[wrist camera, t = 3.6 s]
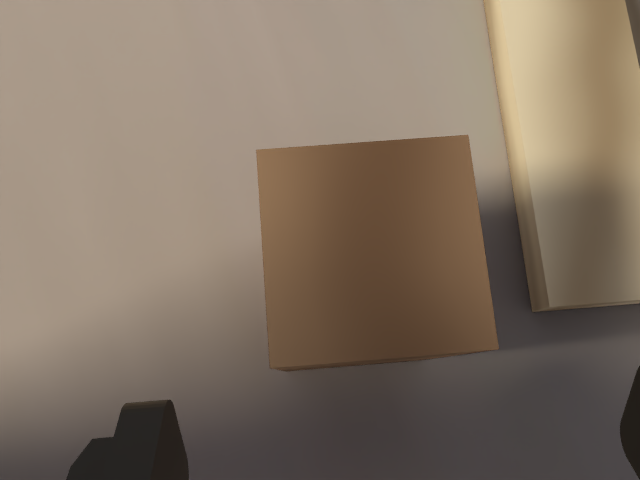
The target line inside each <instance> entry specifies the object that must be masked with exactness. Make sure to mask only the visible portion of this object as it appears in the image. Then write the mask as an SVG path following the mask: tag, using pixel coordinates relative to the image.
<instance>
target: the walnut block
mask: <svg viewBox="0 0 640 480" xmlns="http://www.w3.org/2000/svg"><path fill="white" fill-rule="evenodd" d="M256 153H257V169H258V185H259V201H260V218H261V234H262V250H263V266H264V283H265V299H266V315H267V331H268V347H269V364H270V368H271V369H277V370H282V371H295V370H307V369H319V368H331V367H343V366H355V365H367V364H379V363H391V362H404V361H416V360H426V359H433V358H441V357H448V356H455V355H462V354H469V353H476V352H484V351H491V350H498V349H499V346H498V339H497V332H496V325H495V318H494V311H493V304H492V297H491V290H490V283H489V276H488V269H487V262H486V255H485V248H484V241H483V234H482V227H481V221H480V214H479V207H478V200H477V193H476V186H475V179H474V172H473V165H472V158H471V151H470V144H469V137H468V135H459V136H445V137H431V138H417V139H403V140H389V141H374V142H360V143H346V144H332V145H318V146H304V147H290V148H275V149H261V150H256Z"/></svg>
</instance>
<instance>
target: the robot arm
mask: <svg viewBox="0 0 640 480" xmlns="http://www.w3.org/2000/svg"><path fill="white" fill-rule="evenodd" d="M620 436H621V442H622V446H623V449H624V452H625V454H626V457H627V459H628V460H629V462H630V464H631V466H632V467H633V469H634V471H635V472H636V474H637V476H638V478H639V479H640V366H639V368H638V370H637V372H636V376H635V379H634V382H633V385H632V388H631V391H630V394H629V398H628V401H627V404H626V407H625V410H624V413H623V416H622V420H621V424H620ZM66 480H189V474H188V462H187V456H186V452H185V448H184V444H183V440H182V436H181V432H180V428H179V425H178V421H177V417H176V413H175V409H174V405H173V403H172V401H171V400H160V401H148V402H135V403H126V404H125V405H124V406H123V408H122V410H121V413H120V416H119V420H118V423H117V427H116V430H115V434H114V437H109V438H97V439H92V440H91V441H90V443H89V444H88V445H87V447H86V448H85V449H84V450H83V452H82V453H81V454H80V456H79V457H78V458H77V459H76V461H75V462H74V463H73V465H72V466H71V467H70V470H69V473H68V476H67V479H66Z"/></svg>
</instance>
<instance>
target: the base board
mask: <svg viewBox="0 0 640 480" xmlns="http://www.w3.org/2000/svg"><path fill="white" fill-rule="evenodd" d="M483 1H484V8H485V14H486V20H487V27H488V33H489V39H490V46H491V52H492V59H493V65H494V71H495V78H496V84H497V90H498V97H499V103H500V110H501V116H502V122H503V129H504V135H505V141H506V148H507V154H508V160H509V167H510V173H511V180H512V186H513V192H514V199H515V205H516V211H517V218H518V224H519V230H520V237H521V243H522V250H523V256H524V262H525V269H526V275H527V281H528V288H529V294H530V301H531V307H532V312H539V311H552V310H564V309H576V308H589V307H601V306H614V305H626V304H638V303H640V0H483Z"/></svg>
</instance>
